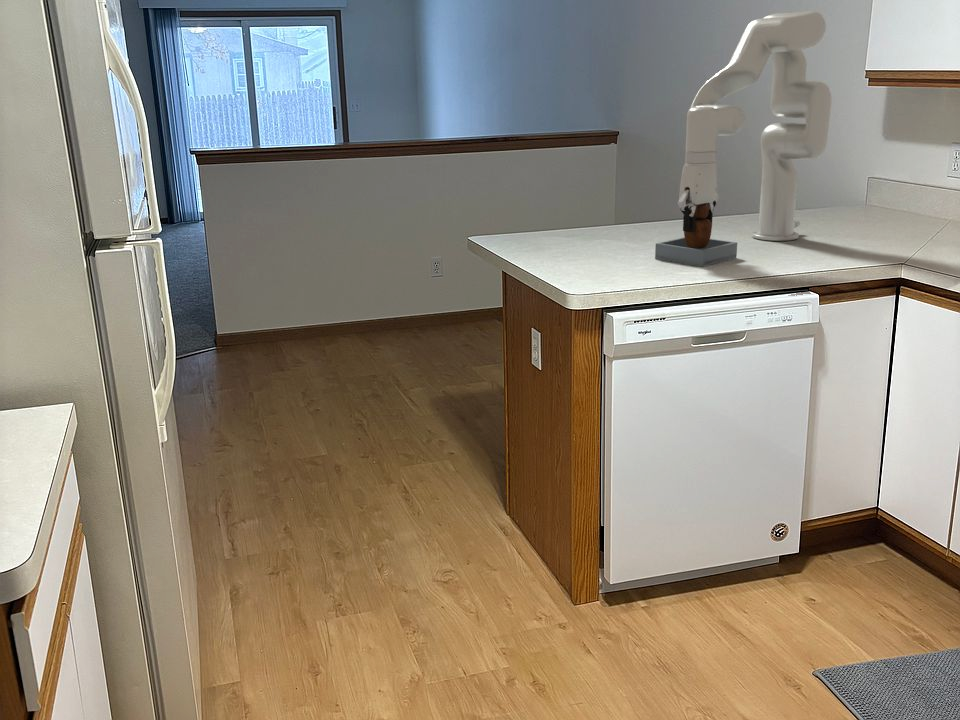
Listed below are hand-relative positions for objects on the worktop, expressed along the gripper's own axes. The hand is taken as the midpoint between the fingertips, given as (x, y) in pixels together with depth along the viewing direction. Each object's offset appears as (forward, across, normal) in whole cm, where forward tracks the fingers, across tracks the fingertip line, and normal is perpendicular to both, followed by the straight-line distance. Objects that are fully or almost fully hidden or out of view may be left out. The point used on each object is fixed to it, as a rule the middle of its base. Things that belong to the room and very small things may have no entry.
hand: (697, 229), depth 234 cm
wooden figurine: (+5, 0, 0) cm, 5 cm away
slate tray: (+7, 0, 0) cm, 7 cm away
